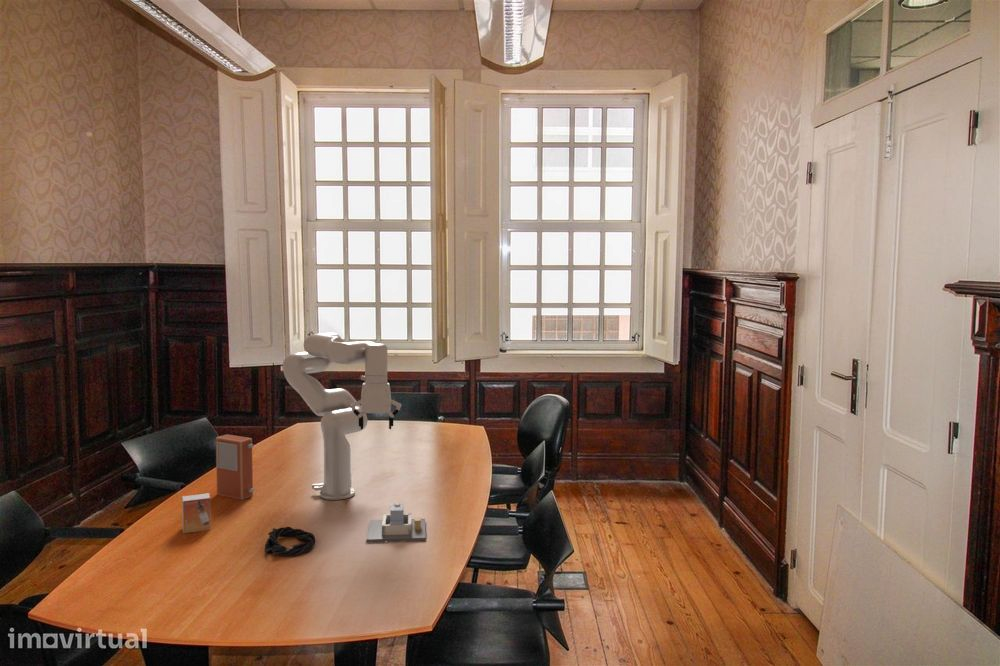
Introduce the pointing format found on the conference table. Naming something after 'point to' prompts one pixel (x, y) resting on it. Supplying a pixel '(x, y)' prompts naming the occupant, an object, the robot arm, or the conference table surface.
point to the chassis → (397, 530)
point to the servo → (396, 514)
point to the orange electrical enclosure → (234, 466)
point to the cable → (295, 549)
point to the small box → (196, 513)
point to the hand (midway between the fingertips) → (376, 428)
